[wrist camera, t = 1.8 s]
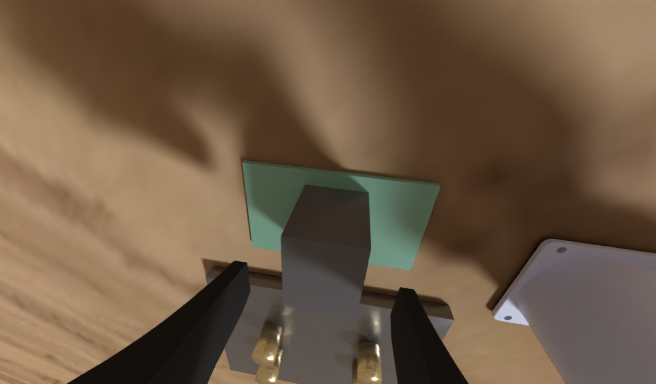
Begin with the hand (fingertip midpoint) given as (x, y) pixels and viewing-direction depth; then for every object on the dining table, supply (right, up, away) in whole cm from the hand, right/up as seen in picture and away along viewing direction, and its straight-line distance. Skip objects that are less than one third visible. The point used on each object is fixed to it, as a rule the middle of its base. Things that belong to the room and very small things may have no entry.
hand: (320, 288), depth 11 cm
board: (+1, +3, +5) cm, 6 cm away
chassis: (0, -10, +13) cm, 16 cm away
